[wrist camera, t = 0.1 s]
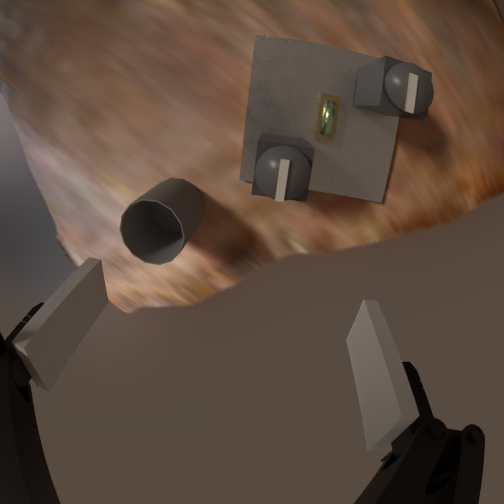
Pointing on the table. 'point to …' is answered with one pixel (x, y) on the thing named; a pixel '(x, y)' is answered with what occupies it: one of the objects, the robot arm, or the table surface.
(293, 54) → the base plate
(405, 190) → the table surface
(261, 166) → the knob
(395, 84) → the knob
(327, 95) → the bubble vial
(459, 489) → the robot arm
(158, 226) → the cup
